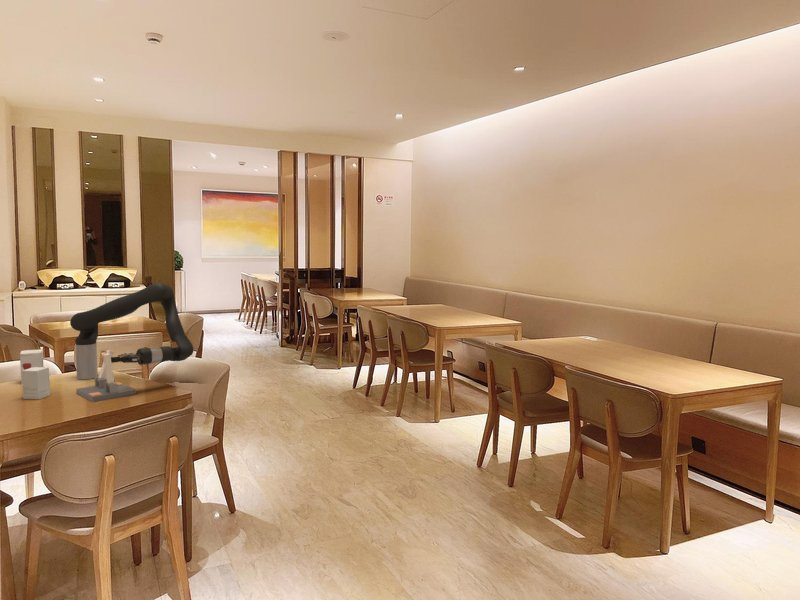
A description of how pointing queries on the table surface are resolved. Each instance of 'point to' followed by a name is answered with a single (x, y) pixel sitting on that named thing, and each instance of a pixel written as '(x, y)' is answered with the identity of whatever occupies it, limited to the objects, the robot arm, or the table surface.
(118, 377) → the table surface
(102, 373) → the lever far
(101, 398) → the switch base
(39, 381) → the supplement box
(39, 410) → the table surface
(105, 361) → the lever near
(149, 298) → the robot arm
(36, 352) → the supplement box
